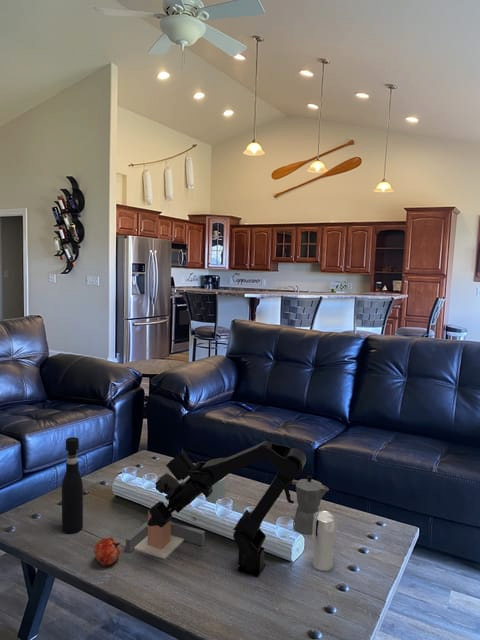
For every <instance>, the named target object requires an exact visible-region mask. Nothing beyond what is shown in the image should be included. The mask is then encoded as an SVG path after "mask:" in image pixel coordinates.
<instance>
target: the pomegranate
mask: <svg viewBox="0 0 480 640" xmlns="http://www.w3.org/2000/svg"><path fill="white" fill-rule="evenodd" d="M120 545H122V543H121V542H117V540H116V539H115V538H114V537H104V538H101V539H100V540H98V541H97V542H96V544H95V545H94V547H93V553H94V555H95V558H93V559H94V561H96V560H97V561H98V562H99V563H100V564H101V565H102V566H110V565H113V564H114V563H116V561H117V560H118V559H119V556H120V555H121V551H122V550H121V549H122V548H121V546H120Z"/></svg>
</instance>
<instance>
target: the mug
mask: <svg viewBox="0 0 480 640" xmlns="http://www.w3.org/2000/svg"><path fill="white" fill-rule="evenodd" d="M212 491H213V492H212V493H211V494H210V495H209V496H208V497H206V500H207V501H208V502H211V503H216V501H217V500H218V499H222V498H225V499H226V476H225V477H224V478H222V479H221V480H220V481H218V482H217V483H215V484H214V485H212Z"/></svg>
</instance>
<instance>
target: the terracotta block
mask: <svg viewBox="0 0 480 640" xmlns="http://www.w3.org/2000/svg"><path fill="white" fill-rule="evenodd" d="M165 506H166V507H167V505H165ZM169 510H171V508H170V509H169ZM150 518H151V514H150V513H149V510H148V511H147V521H149V519H150ZM171 522H172V519H171V520H170V521H169V522H168V523H167V524H166V525H164V526H163V527H162V528H161V527H159V526H148V545H149V546H152V547H155V548H159V549H163V548H164V547H165V546H166V545H167V544H168V543H169V542H170V537H171Z"/></svg>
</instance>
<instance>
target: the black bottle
mask: <svg viewBox="0 0 480 640" xmlns="http://www.w3.org/2000/svg"><path fill="white" fill-rule="evenodd" d="M79 440H80V439H79V438H78V437H73V436H72V437H67V438H66V439H65V451H66V452H67V457H66V463H65V474H64V477H63V479H62V484H61V532H63V533H64V534H67V535H73V534H76V533H79V532H80V531H82V530H83V529H84V496H83V495H84V486H83V480H82V475H81V473H80V471H79V459H78V455H77V451H78V450H79V447H80V445H79V444H80V443H79Z"/></svg>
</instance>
